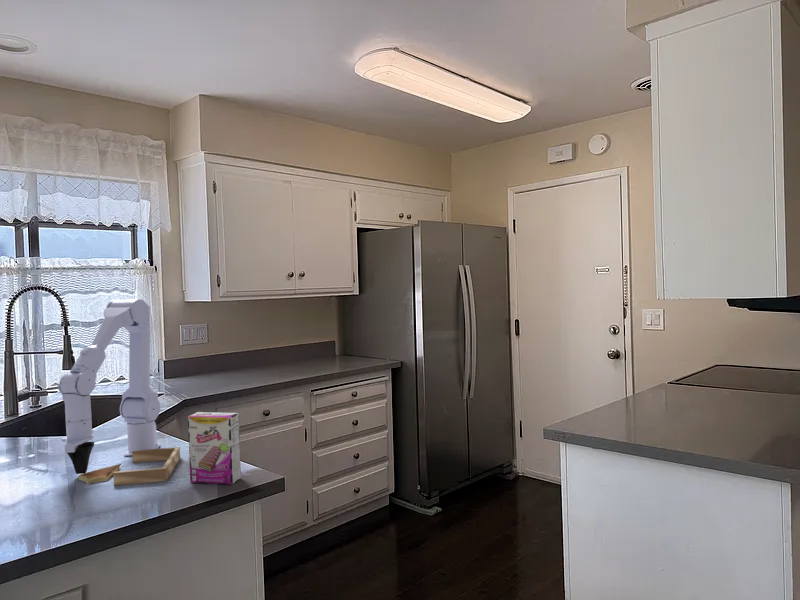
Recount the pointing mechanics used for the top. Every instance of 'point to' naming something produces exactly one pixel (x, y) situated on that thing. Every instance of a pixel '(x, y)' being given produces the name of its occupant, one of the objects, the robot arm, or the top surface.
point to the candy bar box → (214, 447)
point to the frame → (149, 474)
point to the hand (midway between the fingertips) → (81, 472)
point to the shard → (99, 474)
